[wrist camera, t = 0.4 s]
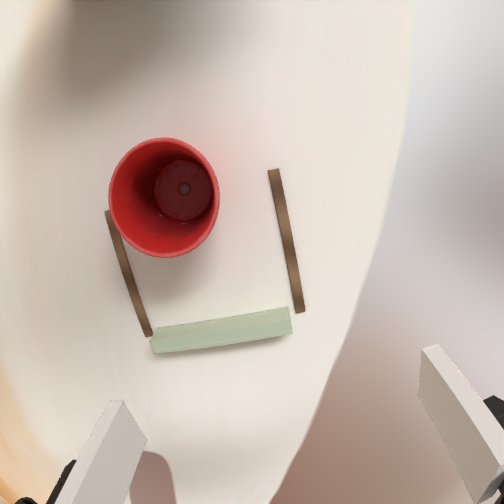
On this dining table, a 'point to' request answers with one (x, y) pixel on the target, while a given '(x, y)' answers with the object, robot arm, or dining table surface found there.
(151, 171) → the flower pot
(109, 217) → the guide strips
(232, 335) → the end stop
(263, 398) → the dining table surface
